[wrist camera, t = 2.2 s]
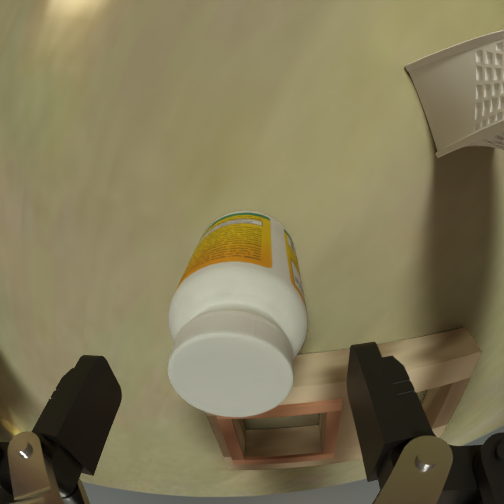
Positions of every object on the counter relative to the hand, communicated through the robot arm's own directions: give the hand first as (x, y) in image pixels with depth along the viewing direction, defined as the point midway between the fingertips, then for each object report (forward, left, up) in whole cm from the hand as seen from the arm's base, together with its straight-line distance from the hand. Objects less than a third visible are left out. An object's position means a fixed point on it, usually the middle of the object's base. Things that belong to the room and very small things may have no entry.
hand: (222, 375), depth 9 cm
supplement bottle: (0, 0, -10) cm, 10 cm away
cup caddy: (-6, +14, -9) cm, 18 cm away
